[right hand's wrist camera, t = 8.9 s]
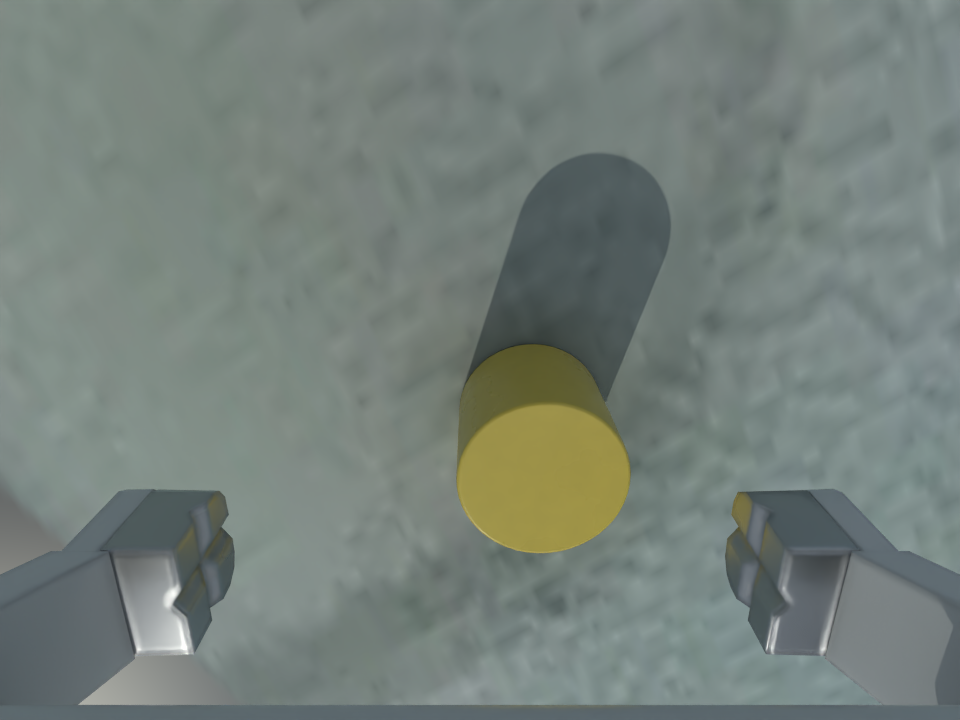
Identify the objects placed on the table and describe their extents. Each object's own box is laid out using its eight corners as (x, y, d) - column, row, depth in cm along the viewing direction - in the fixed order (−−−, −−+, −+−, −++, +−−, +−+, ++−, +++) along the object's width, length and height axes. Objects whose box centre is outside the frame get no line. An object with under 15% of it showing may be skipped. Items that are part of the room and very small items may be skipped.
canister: (616, 446, 21) (651, 525, 17) (487, 487, 22) (491, 574, 18) (576, 323, 20) (603, 378, 16) (438, 370, 20) (430, 436, 16)
